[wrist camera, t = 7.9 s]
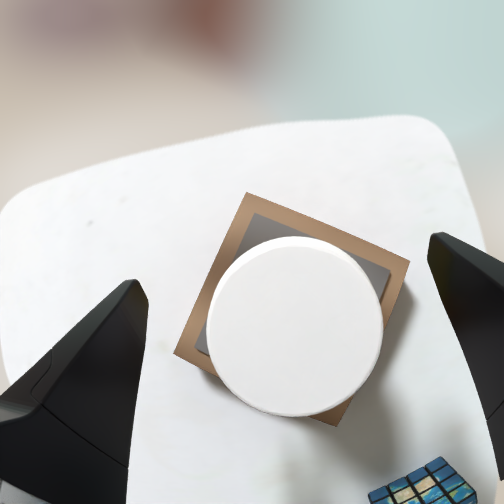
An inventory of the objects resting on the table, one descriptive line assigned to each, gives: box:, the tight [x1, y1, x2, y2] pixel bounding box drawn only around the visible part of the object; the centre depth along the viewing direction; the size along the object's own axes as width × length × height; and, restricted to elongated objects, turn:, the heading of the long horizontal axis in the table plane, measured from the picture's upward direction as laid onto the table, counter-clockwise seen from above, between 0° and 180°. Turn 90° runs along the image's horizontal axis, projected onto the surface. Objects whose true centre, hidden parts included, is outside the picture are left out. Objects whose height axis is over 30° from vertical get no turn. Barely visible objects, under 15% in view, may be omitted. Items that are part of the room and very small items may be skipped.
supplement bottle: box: [206, 236, 384, 417], centre depth 11 cm, size 5×5×10 cm
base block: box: [173, 192, 410, 427], centre depth 18 cm, size 10×10×3 cm
